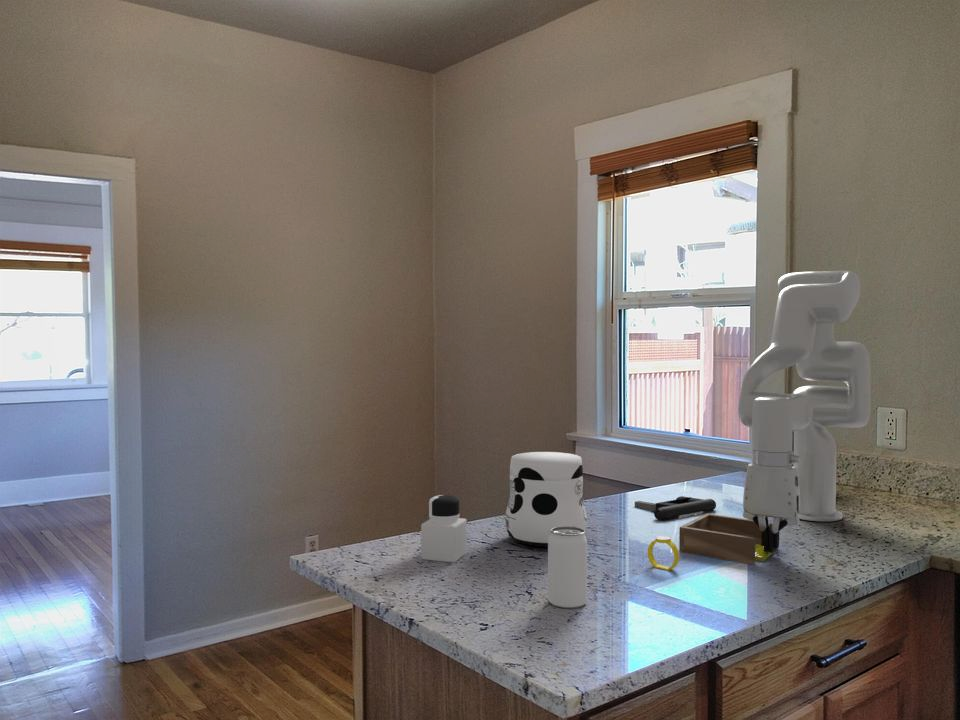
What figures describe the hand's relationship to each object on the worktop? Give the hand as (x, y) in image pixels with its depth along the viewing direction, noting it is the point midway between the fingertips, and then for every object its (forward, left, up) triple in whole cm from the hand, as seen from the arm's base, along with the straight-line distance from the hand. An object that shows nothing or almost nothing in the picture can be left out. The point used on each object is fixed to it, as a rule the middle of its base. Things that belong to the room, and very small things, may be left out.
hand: (770, 550), depth 156 cm
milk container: (+17, -42, -2) cm, 45 cm away
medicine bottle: (+39, -52, -2) cm, 65 cm away
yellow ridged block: (+1, -3, -2) cm, 4 cm away
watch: (+20, -14, -2) cm, 24 cm away
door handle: (-26, -32, -2) cm, 41 cm away
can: (+47, -19, -1) cm, 51 cm away
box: (0, -8, -1) cm, 8 cm away
